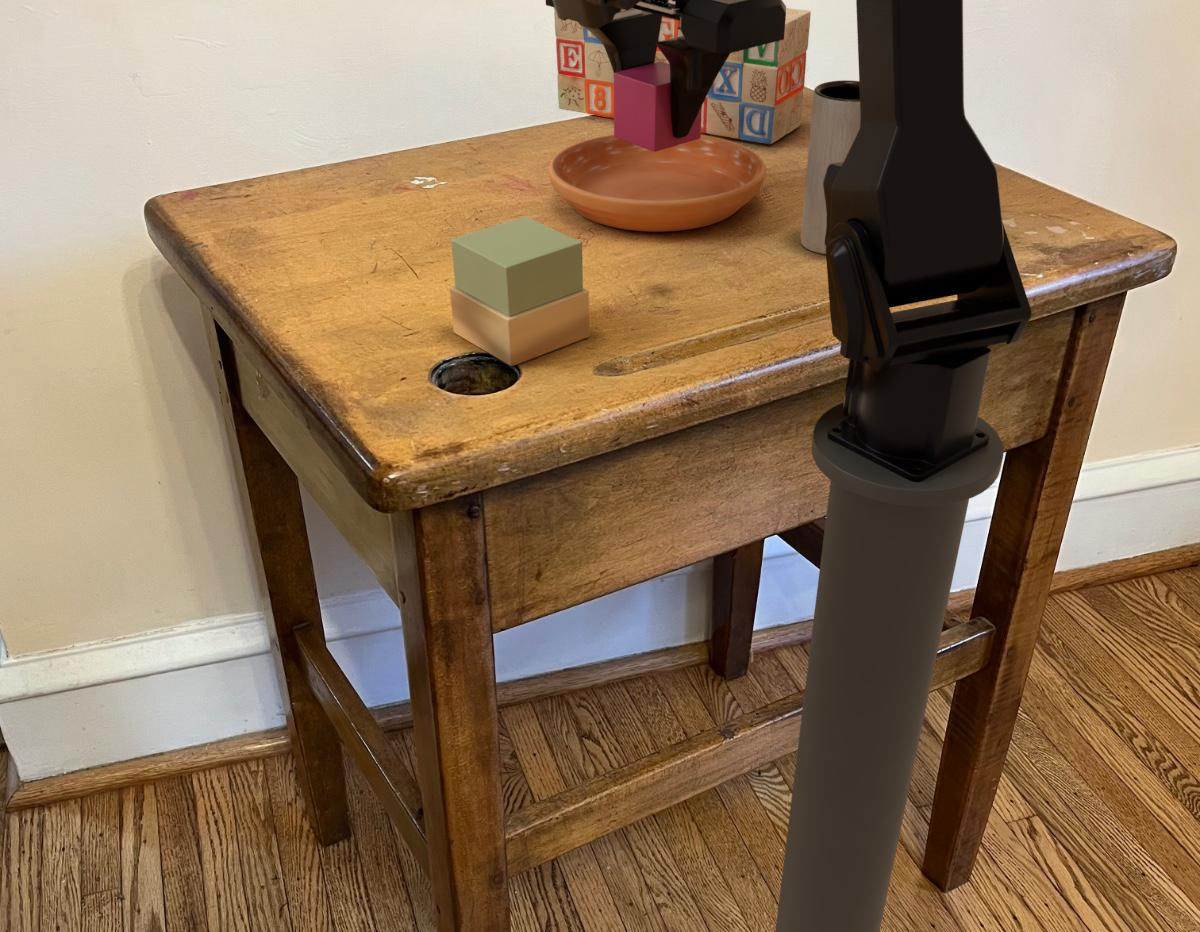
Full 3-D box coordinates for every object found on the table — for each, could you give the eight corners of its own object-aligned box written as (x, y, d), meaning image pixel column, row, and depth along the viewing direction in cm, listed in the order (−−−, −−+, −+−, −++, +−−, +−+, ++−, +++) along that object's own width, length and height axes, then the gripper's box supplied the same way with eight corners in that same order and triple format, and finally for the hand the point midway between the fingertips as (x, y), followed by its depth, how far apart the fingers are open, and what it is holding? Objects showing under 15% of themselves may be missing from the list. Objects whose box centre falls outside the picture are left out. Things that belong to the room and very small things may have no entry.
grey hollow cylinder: (875, 238, 87) (895, 86, 80) (849, 261, 84) (868, 104, 77) (816, 226, 89) (831, 76, 82) (789, 247, 86) (802, 93, 79)
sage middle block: (583, 290, 74) (582, 242, 72) (509, 317, 71) (506, 267, 69) (527, 262, 77) (525, 215, 75) (454, 287, 74) (450, 238, 72)
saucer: (604, 155, 101) (604, 118, 99) (791, 183, 96) (794, 143, 94) (512, 223, 90) (510, 182, 88) (717, 258, 84) (719, 215, 83)
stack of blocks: (803, 126, 106) (816, -31, 99) (771, 147, 102) (783, -15, 95) (592, 91, 115) (590, -56, 108) (555, 109, 111) (550, -43, 104)
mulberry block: (700, 138, 90) (703, 73, 87) (654, 152, 87) (655, 86, 84) (659, 124, 92) (660, 60, 89) (613, 137, 90) (613, 72, 87)
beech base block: (590, 336, 75) (589, 290, 73) (511, 367, 72) (508, 320, 70) (530, 305, 79) (528, 260, 77) (453, 332, 76) (449, 286, 74)
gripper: (476, -120, 81) (491, 122, 91) (666, -83, 70) (661, 189, 80) (605, -138, 87) (607, 92, 97) (801, -106, 76) (781, 151, 85)
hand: (657, 129), depth 89 cm, fingers closed on mulberry block, 4 cm apart
